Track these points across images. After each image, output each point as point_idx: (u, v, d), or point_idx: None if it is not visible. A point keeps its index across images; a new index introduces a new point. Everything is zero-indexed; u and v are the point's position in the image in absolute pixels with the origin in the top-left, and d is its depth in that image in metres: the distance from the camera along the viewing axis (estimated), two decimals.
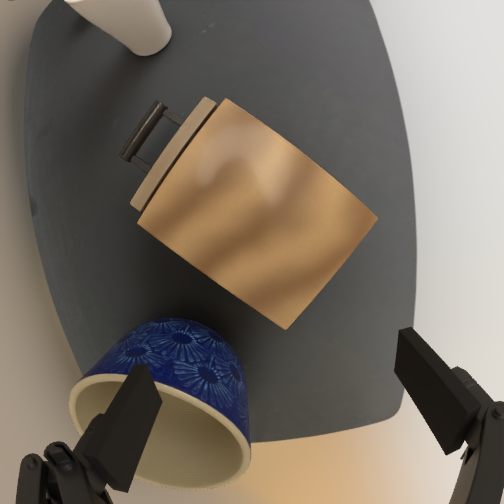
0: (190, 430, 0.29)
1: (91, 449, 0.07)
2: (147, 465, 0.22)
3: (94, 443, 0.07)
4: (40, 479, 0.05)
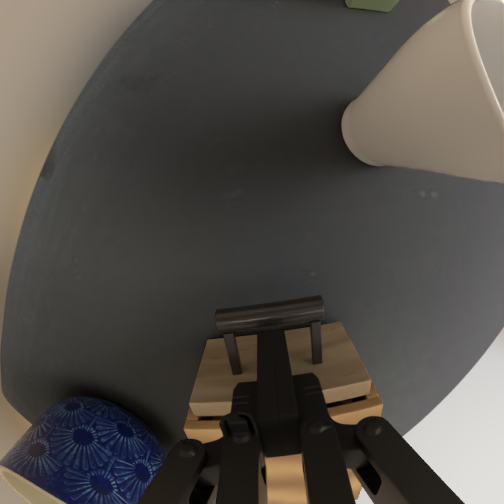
0: None
1: (266, 411, 0.09)
2: (40, 496, 0.14)
3: (265, 405, 0.09)
4: (194, 474, 0.07)
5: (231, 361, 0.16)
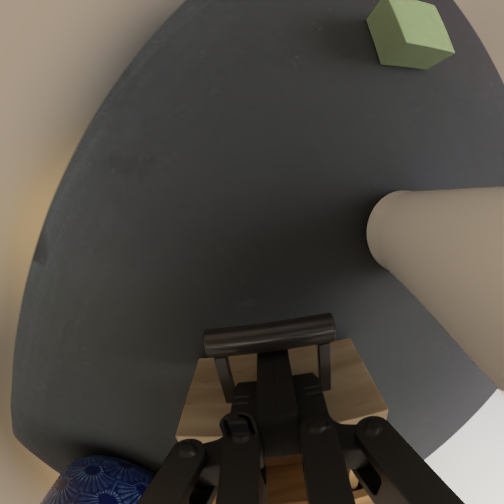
0: None
1: (266, 411, 0.09)
2: None
3: (265, 405, 0.09)
4: (194, 474, 0.07)
5: (224, 388, 0.13)
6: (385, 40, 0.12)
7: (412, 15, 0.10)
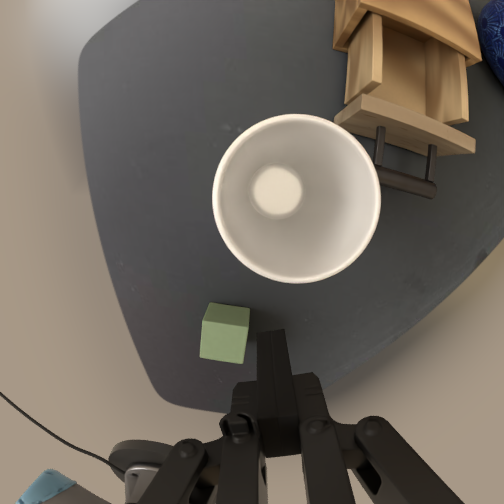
0: None
1: (265, 411, 0.09)
2: None
3: (265, 405, 0.09)
4: (194, 474, 0.07)
5: (435, 158, 0.18)
6: None
7: (229, 347, 0.24)
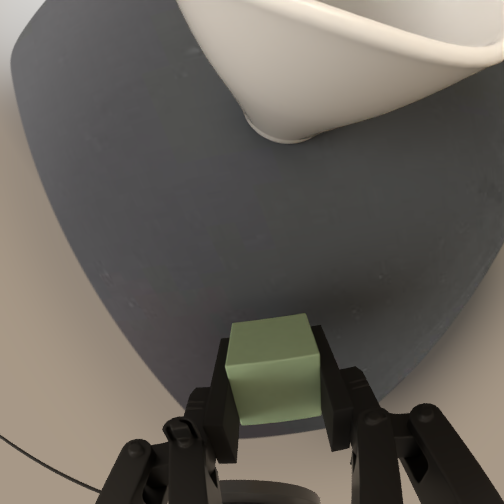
0: None
1: (212, 419, 0.09)
2: None
3: (213, 412, 0.09)
4: (143, 471, 0.07)
5: None
6: None
7: (292, 398, 0.12)
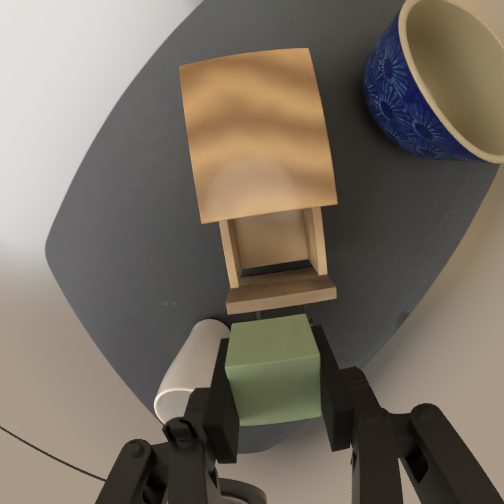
0: (450, 59, 0.21)
1: (212, 419, 0.09)
2: (503, 71, 0.15)
3: (213, 412, 0.09)
4: (143, 471, 0.07)
5: (307, 303, 0.29)
6: None
7: (292, 398, 0.12)
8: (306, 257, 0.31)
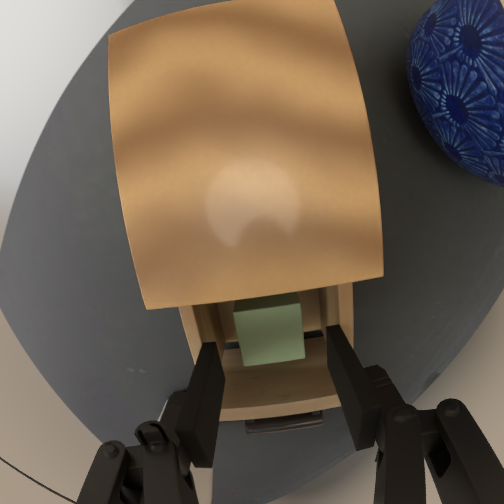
0: None
1: (185, 424, 0.09)
2: None
3: (186, 417, 0.09)
4: (119, 471, 0.06)
5: None
6: None
7: (281, 340, 0.17)
8: (318, 327, 0.21)
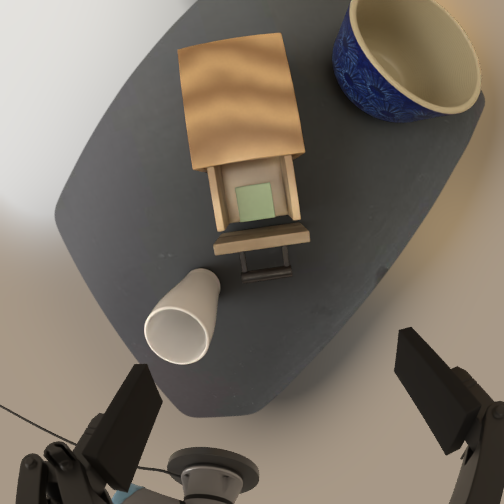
0: (413, 38, 0.25)
1: (91, 449, 0.07)
2: (457, 43, 0.19)
3: (94, 443, 0.07)
4: (40, 479, 0.05)
5: (286, 249, 0.33)
6: None
7: (261, 204, 0.32)
8: (286, 212, 0.36)
